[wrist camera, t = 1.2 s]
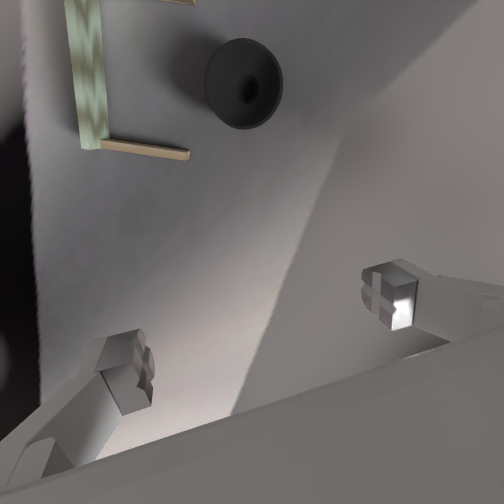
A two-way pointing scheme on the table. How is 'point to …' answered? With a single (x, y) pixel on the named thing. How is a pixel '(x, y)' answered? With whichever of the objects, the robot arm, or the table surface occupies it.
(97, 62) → the corral
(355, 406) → the robot arm
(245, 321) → the table surface
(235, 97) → the pen holder
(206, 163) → the table surface
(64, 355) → the table surface
